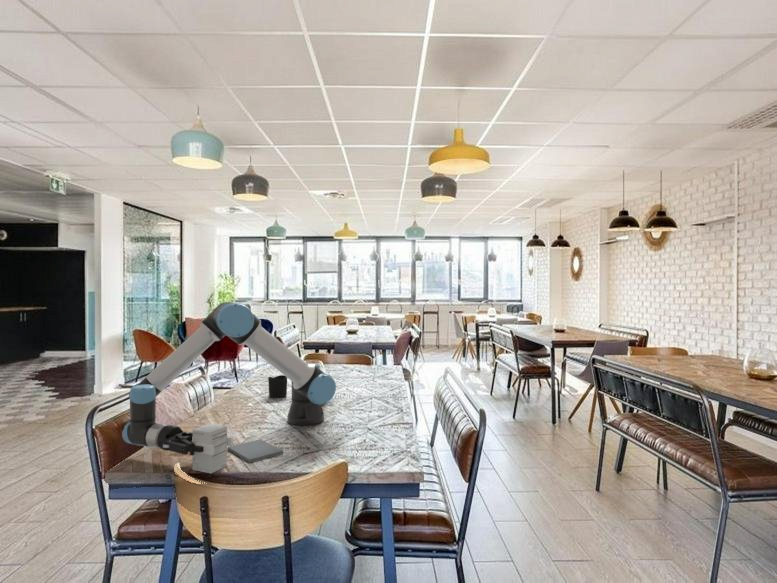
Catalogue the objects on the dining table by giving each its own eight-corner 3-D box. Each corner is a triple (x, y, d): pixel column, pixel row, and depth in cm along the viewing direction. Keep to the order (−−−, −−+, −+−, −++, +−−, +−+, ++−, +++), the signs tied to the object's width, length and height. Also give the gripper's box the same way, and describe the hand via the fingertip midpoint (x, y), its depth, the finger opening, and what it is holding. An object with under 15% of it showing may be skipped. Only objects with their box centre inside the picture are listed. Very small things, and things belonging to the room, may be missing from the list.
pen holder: (284, 398, 232) (284, 378, 232) (266, 398, 232) (266, 378, 232) (289, 394, 242) (289, 375, 242) (271, 394, 242) (271, 375, 242)
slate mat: (227, 449, 159) (227, 446, 159) (260, 441, 167) (260, 439, 167) (249, 462, 147) (249, 459, 147) (283, 453, 156) (283, 450, 156)
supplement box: (191, 470, 141) (191, 429, 141) (209, 462, 148) (209, 422, 148) (210, 474, 138) (210, 432, 138) (228, 465, 145) (227, 425, 145)
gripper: (189, 439, 159) (244, 447, 151) (138, 459, 140) (198, 470, 132) (189, 417, 159) (244, 424, 150) (138, 434, 140) (198, 443, 132)
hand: (222, 445), depth 141 cm, fingers closed on supplement box, 7 cm apart
